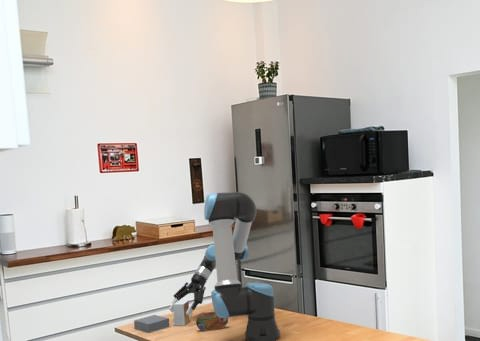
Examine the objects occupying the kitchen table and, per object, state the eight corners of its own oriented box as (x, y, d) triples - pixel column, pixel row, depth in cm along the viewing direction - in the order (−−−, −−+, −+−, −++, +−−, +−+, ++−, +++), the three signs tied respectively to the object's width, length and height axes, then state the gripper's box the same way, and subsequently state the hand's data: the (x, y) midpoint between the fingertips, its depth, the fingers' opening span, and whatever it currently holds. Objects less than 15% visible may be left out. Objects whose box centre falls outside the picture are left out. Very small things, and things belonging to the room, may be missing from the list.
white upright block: (184, 326, 233) (183, 304, 233) (173, 326, 234) (172, 304, 234) (189, 321, 241) (188, 300, 241) (179, 321, 242) (178, 300, 242)
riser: (169, 326, 233) (169, 318, 233) (148, 332, 224) (148, 324, 225) (154, 322, 241) (154, 314, 242) (134, 328, 233) (134, 320, 233)
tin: (197, 332, 221) (196, 314, 222) (195, 330, 224) (194, 312, 225) (228, 328, 225) (227, 310, 226) (227, 326, 228) (226, 308, 229)
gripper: (221, 283, 241) (200, 320, 230) (189, 279, 259) (168, 313, 248) (212, 274, 238) (191, 312, 226) (181, 270, 255) (159, 305, 244)
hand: (179, 312), depth 237 cm, fingers open, 13 cm apart
